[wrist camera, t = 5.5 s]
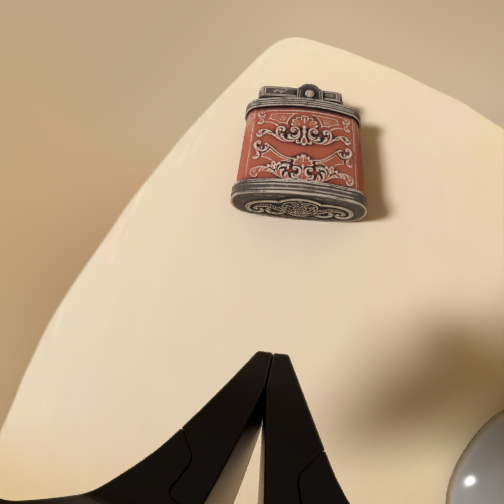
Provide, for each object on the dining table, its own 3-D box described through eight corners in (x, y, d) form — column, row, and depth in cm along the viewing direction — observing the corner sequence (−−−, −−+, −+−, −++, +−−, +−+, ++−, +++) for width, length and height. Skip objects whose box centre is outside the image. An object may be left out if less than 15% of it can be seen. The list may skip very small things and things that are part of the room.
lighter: (359, 225, 20) (352, 112, 23) (373, 201, 16) (360, 81, 20) (233, 214, 20) (252, 103, 24) (226, 187, 17) (249, 71, 20)
